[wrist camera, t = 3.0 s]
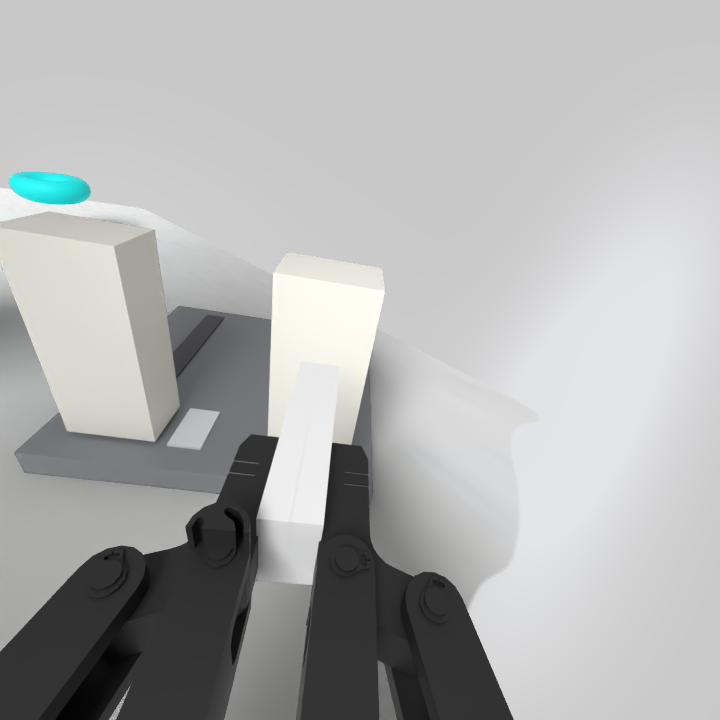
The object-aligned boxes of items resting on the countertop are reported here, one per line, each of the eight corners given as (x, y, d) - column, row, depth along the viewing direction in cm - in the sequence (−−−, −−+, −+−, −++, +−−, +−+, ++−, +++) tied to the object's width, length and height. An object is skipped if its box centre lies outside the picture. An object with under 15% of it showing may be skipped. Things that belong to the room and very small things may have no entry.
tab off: (155, 441, 25) (113, 246, 17) (67, 431, 24) (-15, 225, 17) (180, 405, 28) (154, 229, 21) (103, 395, 28) (48, 211, 20)
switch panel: (367, 509, 26) (373, 491, 24) (24, 472, 24) (12, 450, 22) (365, 347, 46) (368, 333, 45) (181, 320, 44) (179, 304, 43)
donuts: (69, 171, 60) (100, 183, 57) (84, 230, 66) (113, 244, 62) (-7, 168, 53) (23, 182, 49) (17, 235, 58) (45, 252, 54)
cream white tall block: (346, 464, 26) (385, 290, 18) (266, 455, 25) (273, 272, 18) (348, 427, 29) (381, 268, 22) (278, 418, 29) (287, 252, 21)
